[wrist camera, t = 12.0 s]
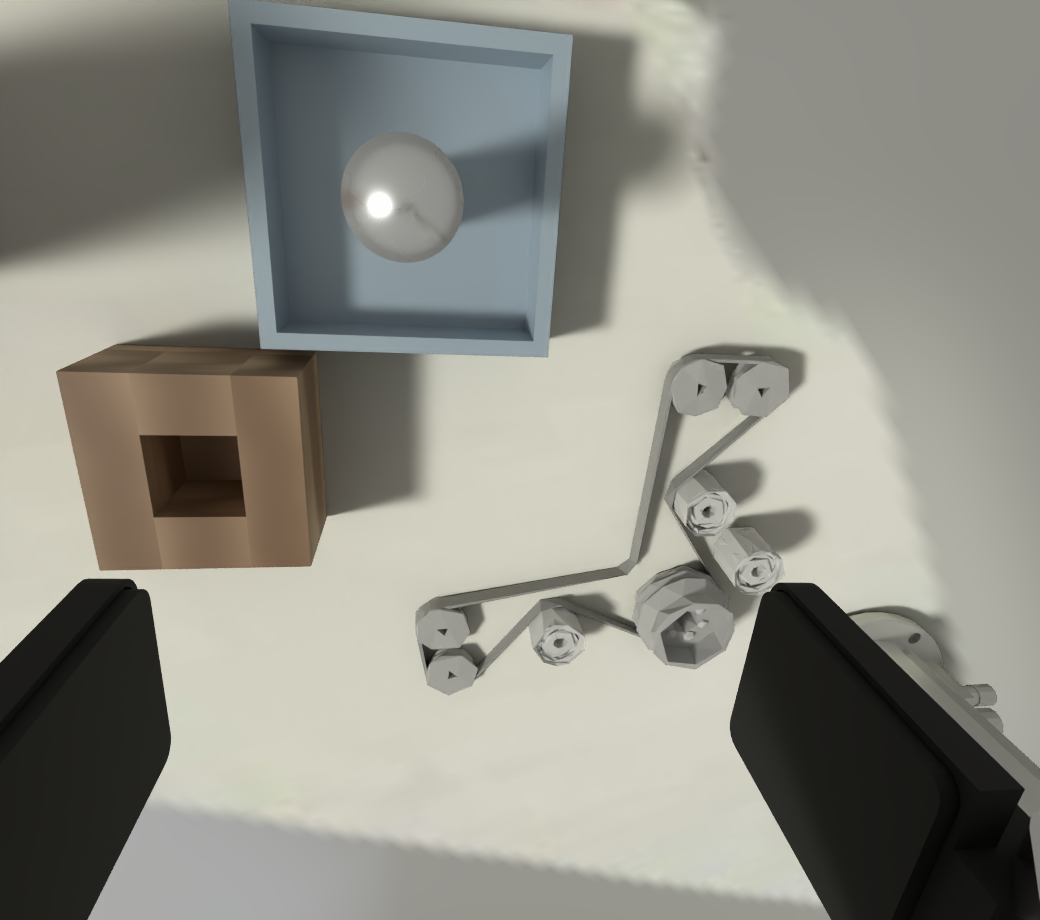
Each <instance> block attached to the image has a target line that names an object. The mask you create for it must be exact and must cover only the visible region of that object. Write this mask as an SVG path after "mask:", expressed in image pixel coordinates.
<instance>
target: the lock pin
mask: <svg viewBox="0 0 1040 920" xmlns="http://www.w3.org/2000/svg"><path fill="white" fill-rule="evenodd" d="M341 202H342V208H343V212H344V215H345V218H346V221H347V223H348V225H349V227H350V229H351V230H352V232H353V233H354V235H355V236H356V237H357V239H358V240H359V241H360V242H361V243H362V244H363V245H364V246H365V247H366V248H367V249H369V250H370V251H371V252H373V253H374V254H376V255H378V256H380V257H382V258H384V259H387V260H390V261H394V262H400V263H413V262H419V261H423V260H426V259H428V258H431V257H433V256H434V255H436V254H438V253H439V252H440V251H442V250H443V249H444V248H445V247H446V246H447V245H448V244H449V243H450V242H451V240H452V239H453V237H454V236H455V234H456V232H457V230H458V228H459V225H460V223H461V219H462V215H463V207H464V196H463V189H462V185H461V181H460V178H459V175H458V173H457V171H456V169H455V167H454V165H453V164H452V162H451V161H450V159H449V158H448V157H447V155H446V154H445V153H444V152H443V151H442V150H441V149H440V148H439V147H437V146H436V145H435V144H434V143H432V142H430V141H429V140H427V139H425V138H423V137H421V136H418V135H415V134H412V133H406V132H390V133H385V134H381V135H378V136H376V137H374V138H372V139H370V140H368V141H367V142H365V143H364V144H363V145H362V146H360V147H359V148H358V149H357V150H356V152H355V153H354V154H353V155H352V157H351V158H350V160H349V162H348V164H347V166H346V168H345V171H344V174H343V178H342V184H341Z"/></svg>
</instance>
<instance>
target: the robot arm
mask: <svg viewBox="0 0 1040 920" xmlns="http://www.w3.org/2000/svg"><path fill="white" fill-rule="evenodd" d="M996 701H997V695H996V692H995V691H994V689H993V688H992V687H991V686H989V685H988V684H979V685H966V686H961V685H960V684H959V683H958V682H957V681H956V680H955V679H953V678H952V677H951V676H950V675H949V674H948V673H947V672H946V671H945V670H943V659H942V655H941V651H940V648H939V647H938V645H937V643H936V642H935V640H934V639H933V638H932V637H931V636H930V635H929V634H928V633H927V632H926V631H925V630H924V629H923V628H922V627H920V626H919V625H917V624H916V623H915V622H913V621H912V620H910V619H908V618H905V617H903V616H900V615H897V614H891V613H885V612H873V613H862V614H857V615H852V616H848V615H847V614H846V613H845V612H844V611H843V610H842V609H841V608H840V607H839V606H838V605H837V604H836V603H835V602H834V601H833V600H832V599H831V598H830V597H829V596H828V595H827V594H826V593H825V592H823V591H822V590H821V589H820V588H819V587H818V586H817V585H815V584H813V583H777V584H775V585H774V586H773V588H772V589H771V592H766V593H765V594H764V595H763V596H762V599H761V602H760V606H759V610H758V614H757V618H756V621H755V625H754V629H753V633H752V637H751V641H750V645H749V649H748V653H747V657H746V661H745V665H744V669H743V672H742V676H741V680H740V684H739V688H738V692H737V696H736V700H735V704H734V708H733V712H732V716H731V720H730V732H731V737H732V741H733V743H734V745H735V747H736V749H737V751H738V753H739V755H740V756H741V758H742V760H743V762H744V764H745V765H746V767H747V769H748V771H749V773H750V774H751V776H752V778H753V780H754V782H755V783H756V785H757V787H758V789H759V791H760V792H761V794H762V796H763V798H764V800H765V801H766V803H767V805H768V807H769V809H770V810H771V812H772V814H773V816H774V818H775V819H776V821H777V823H778V825H779V827H780V828H781V830H782V832H783V834H784V836H785V837H786V839H787V841H788V843H789V844H790V846H791V848H792V850H793V852H794V853H795V855H796V857H797V859H798V861H799V862H800V864H801V866H802V868H803V870H804V871H805V873H806V875H807V877H808V879H809V880H810V882H811V884H812V886H813V888H814V889H815V891H816V893H817V895H818V897H819V898H820V900H821V902H822V904H823V906H824V907H825V909H826V911H827V913H828V914H829V916H830V918H831V920H1040V768H1039V767H1038V766H1037V765H1036V764H1035V763H1033V762H1032V761H1031V760H1030V759H1029V758H1028V757H1027V756H1026V755H1025V754H1024V753H1023V752H1022V751H1020V750H1019V749H1018V748H1017V747H1016V746H1015V745H1014V744H1013V743H1012V742H1011V741H1010V740H1008V739H1007V738H1006V737H1005V736H1004V735H1003V734H1002V733H1003V723H1002V720H1001V718H1000V717H999V715H998V714H997V713H996V712H995V711H994V710H992V709H990V708H974V707H973V706H988V705H994V704H995V703H996ZM170 745H171V733H170V726H169V720H168V713H167V706H166V700H165V693H164V687H163V680H162V673H161V667H160V660H159V654H158V647H157V640H156V634H155V627H154V620H153V614H152V607H151V601H150V596H149V594H148V592H147V591H146V590H144V589H137V586H136V584H135V583H134V581H132V580H131V579H84V580H82V581H81V582H80V583H78V584H77V585H76V586H75V587H74V588H73V589H72V590H71V591H70V592H69V593H68V594H67V596H66V597H65V598H64V599H63V600H62V601H61V602H60V603H59V604H58V605H57V606H56V607H55V608H54V609H53V610H52V611H51V612H50V613H49V614H48V615H47V616H46V617H45V618H44V619H43V620H42V621H41V622H40V623H39V624H38V625H37V626H36V627H35V628H34V629H33V630H32V631H31V632H30V633H29V634H28V635H27V636H26V637H25V638H24V639H23V640H22V641H21V642H20V643H19V644H18V645H17V646H16V647H15V648H14V649H13V650H12V651H11V652H10V653H9V654H8V656H7V657H6V658H5V659H4V660H3V661H2V662H1V663H0V920H87V919H88V917H89V915H90V913H91V911H92V909H93V907H94V905H95V903H96V901H97V899H98V897H99V895H100V893H101V891H102V889H103V887H104V885H105V883H106V881H107V879H108V877H109V875H110V873H111V871H112V869H113V867H114V865H115V863H116V861H117V859H118V857H119V855H120V853H121V851H122V849H123V847H124V845H125V843H126V841H127V839H128V838H129V835H130V834H131V831H132V830H133V828H134V825H135V823H136V821H137V819H138V818H139V816H140V813H141V811H142V810H143V808H144V806H145V804H146V802H147V800H148V798H149V796H150V794H151V792H152V790H153V788H154V786H155V784H156V782H157V780H158V778H159V776H160V774H161V772H162V770H163V768H164V766H165V763H166V761H167V758H168V755H169V751H170Z"/></svg>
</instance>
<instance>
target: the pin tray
mask: <svg viewBox="0 0 1040 920" xmlns="http://www.w3.org/2000/svg"><path fill="white" fill-rule="evenodd" d="M228 7H229V18H230V29H231V39H232V50H233V61H234V71H235V82H236V92H237V103H238V114H239V124H240V135H241V146H242V156H243V167H244V177H245V188H246V199H247V209H248V220H249V231H250V241H251V252H252V263H253V273H254V284H255V294H256V305H257V316H258V326H259V337H260V348H261V349H286V350H319V351H352V352H385V353H418V354H451V355H485V356H518V357H548V350H549V337H550V324H551V311H552V299H553V286H554V273H555V260H556V248H557V235H558V222H559V209H560V197H561V184H562V171H563V158H564V146H565V133H566V120H567V107H568V95H569V82H570V69H571V56H572V43H573V35H568V34H559V33H550V32H541V31H532V30H523V29H513V28H504V27H495V26H486V25H477V24H468V23H459V22H449V21H440V20H431V19H422V18H413V17H404V16H395V15H385V14H376V13H367V12H358V11H349V10H340V9H331V8H321V7H312V6H303V5H294V4H285V3H276V2H266V1H257V0H228ZM390 132H406V133H412V134H415V135H418V136H421V137H423V138H425V139H427V140H429V141H430V142H432V143H434V144H435V145H436V146H437V147H439V148H440V149H441V150H442V151H443V152H444V153H445V154H446V155H447V157H448V158H449V159H450V161H451V162H452V164H453V165H454V167H455V169H456V171H457V173H458V175H459V178H460V181H461V185H462V189H463V196H464V207H463V215H462V219H461V223H460V225H459V228H458V230H457V232H456V234H455V236H454V237H453V239H452V240H451V242H450V243H449V244H448V245H447V246H446V247H445V248H444V249H443V250H442V251H440V252H439V253H438V254H436V255H434V256H433V257H431V258H428V259H426V260H423V261H419V262H413V263H400V262H394V261H390V260H387V259H384V258H382V257H380V256H378V255H376V254H374V253H373V252H371V251H370V250H369V249H367V248H366V247H365V246H364V245H363V244H362V243H361V242H360V241H359V240H358V239H357V237H356V236H355V235H354V233H353V232H352V230H351V229H350V227H349V225H348V223H347V221H346V218H345V215H344V212H343V208H342V202H341V184H342V178H343V174H344V171H345V168H346V166H347V164H348V162H349V160H350V158H351V157H352V155H353V154H354V153H355V152H356V150H357V149H358V148H359V147H360V146H362V145H363V144H364V143H365V142H367V141H368V140H370V139H372V138H374V137H376V136H378V135H381V134H385V133H390Z"/></svg>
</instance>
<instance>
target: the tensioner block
mask: <svg viewBox="0 0 1040 920" xmlns="http://www.w3.org/2000/svg"><path fill="white" fill-rule="evenodd" d="M56 374H57V378H58V383H59V387H60V392H61V396H62V401H63V405H64V410H65V414H66V419H67V424H68V428H69V433H70V437H71V442H72V446H73V451H74V455H75V460H76V465H77V469H78V474H79V478H80V483H81V487H82V492H83V496H84V501H85V506H86V510H87V515H88V519H89V524H90V528H91V533H92V537H93V542H94V547H95V551H96V556H97V560H98V565H99V569H100V570H149V569H200V568H251V567H302V566H311V565H312V561H313V558H314V555H315V552H316V549H317V546H318V543H319V540H320V536H321V533H322V530H323V527H324V524H325V521H326V518H327V512H326V496H325V479H324V463H323V446H322V430H321V413H320V397H319V380H318V364H317V351H305V350H271V349H238V348H205V347H172V346H138V345H113V346H111V347H109V348H107V349H104V350H102V351H100V352H98V353H96V354H93V355H91V356H89V357H87V358H85V359H82V360H80V361H78V362H76V363H74V364H71V365H69V366H67V367H65V368H62V369H60V370H58V371H56Z"/></svg>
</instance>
